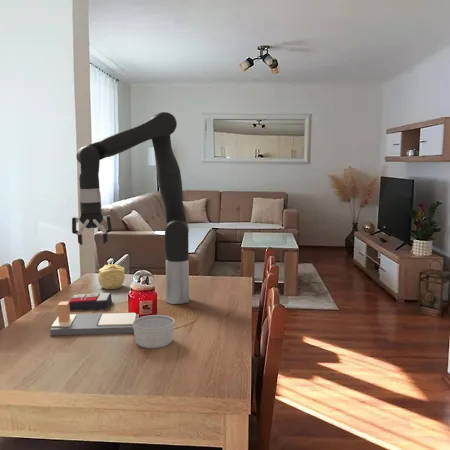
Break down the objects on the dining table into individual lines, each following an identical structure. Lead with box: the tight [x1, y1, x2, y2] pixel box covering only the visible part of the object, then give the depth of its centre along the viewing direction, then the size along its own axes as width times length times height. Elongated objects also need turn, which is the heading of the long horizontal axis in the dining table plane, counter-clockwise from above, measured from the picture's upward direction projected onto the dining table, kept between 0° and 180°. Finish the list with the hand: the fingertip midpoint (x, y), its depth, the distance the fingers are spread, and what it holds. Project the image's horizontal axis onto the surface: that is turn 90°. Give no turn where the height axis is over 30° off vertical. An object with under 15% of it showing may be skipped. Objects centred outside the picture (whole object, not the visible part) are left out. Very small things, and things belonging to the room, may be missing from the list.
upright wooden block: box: [50, 300, 78, 328], centre depth 175 cm, size 6×12×6 cm, turn 6°
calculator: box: [69, 292, 113, 311], centre depth 200 cm, size 11×4×15 cm
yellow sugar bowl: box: [97, 263, 126, 290], centre depth 227 cm, size 11×12×11 cm
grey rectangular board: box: [49, 312, 139, 336], centre depth 176 cm, size 28×16×2 cm, turn 96°
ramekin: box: [133, 314, 176, 349], centre depth 162 cm, size 13×13×7 cm
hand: (93, 244), depth 190 cm, fingers open, 8 cm apart
